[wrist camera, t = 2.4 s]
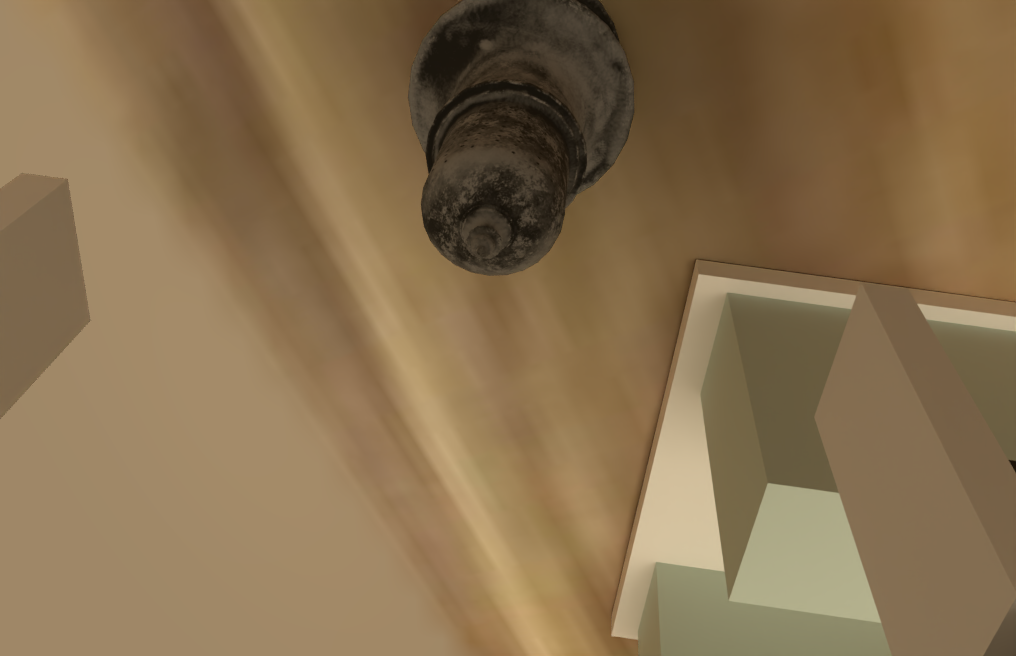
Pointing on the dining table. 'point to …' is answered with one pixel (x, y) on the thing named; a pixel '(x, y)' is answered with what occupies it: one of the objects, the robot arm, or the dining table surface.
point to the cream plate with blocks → (772, 469)
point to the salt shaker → (515, 123)
